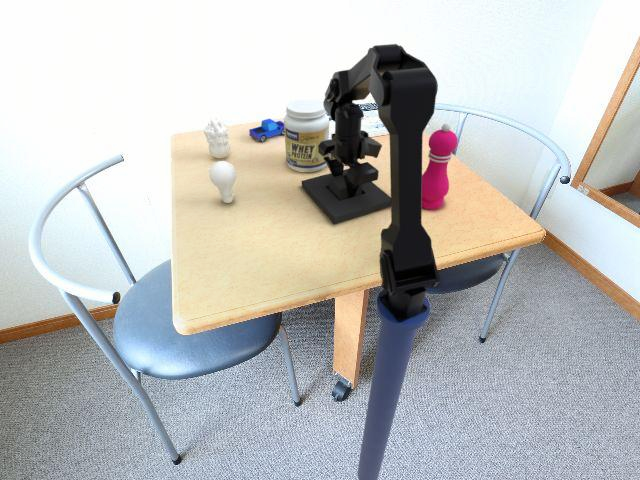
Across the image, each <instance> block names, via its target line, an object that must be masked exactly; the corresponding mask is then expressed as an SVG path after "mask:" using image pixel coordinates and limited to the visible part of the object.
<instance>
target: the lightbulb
mask: <svg viewBox="0 0 640 480" xmlns="http://www.w3.org/2000/svg"><path fill="white" fill-rule="evenodd" d="M208 173H209V174H208V175H209V179H210V181H211V183H212V184H213V185H214V186H215V187H216V188H217V190H218V191H219V192H218V193H219V195H220V196H221V199H222V202H223V203H225V204H230V203H232V202H233V201H234V184H235V182H236V179H237V171H236V168H235V166H233V165H232V164H231V163H230V162H228V161H226V160H218V161H216V162H215V163H213V164H212V165H211V167H210V169H209V172H208Z"/></svg>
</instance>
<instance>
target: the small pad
mask: <svg viewBox="0 0 640 480" xmlns="http://www.w3.org/2000/svg"><path fill="white" fill-rule="evenodd" d="M345 175H347V174H343V175H339V176H336V177H332V178H329V191H330V192H331V193H332V194H333V195H334V196H335V197H336V198H337V199H338V200H339V201H342V200H345V199H348V198H350V197H349V194H348V191H347V188H346V184H345V181H344V178H343V176H345ZM361 194H362V185H360V186H359V188H358V190H357V192H356V194H355V196H359V195H361ZM355 196H354V197H355Z"/></svg>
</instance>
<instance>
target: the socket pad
mask: <svg viewBox="0 0 640 480" xmlns="http://www.w3.org/2000/svg"><path fill="white" fill-rule="evenodd" d="M348 169H349V168H344V171H343V174H347V170H348ZM332 177H333V176H332V174H331V172H330V173H326V174H323V175H319V176H316V177H312V178H307V179H303V180H301V182H300V183H301V188H302V190H303V191H304V192H305V193H306V194H307V195H308V197H309V198H310V199H311V200H312V201H313V203H315V204H316V205H317V207H318V208H319V209H320V210H321V211H322V213H324V214H325V216H326V217H327V219H329V220H330V222H332V224H333V225H338V224H340V223H344V222H346V221H351V220H353V219H356V218H359V217H362V216H366V215H369V214H372V213H374V212H378V211H382V210H385V209H388V208H391V195H389V194H388V193H386V192H385V191H384V190H383V189H381V188H380V187H379V186H378V185H377V184H375V183H374V181H372V182H369V183H365V184H362V194H361V195H359V196H355V197H352V198H348V199H345V200H342V201H339V200H338V199H337V198H336V197H335V196H334V195H333V194H332V193H331V192H330V191H329V178H332Z"/></svg>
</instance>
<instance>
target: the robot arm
mask: <svg viewBox="0 0 640 480" xmlns="http://www.w3.org/2000/svg"><path fill="white" fill-rule="evenodd" d="M438 91H439V84H438V79H437V77H436V76H435V75H434V73H433V72H432V70H431V69H430V68H429V66H428V65H427V63H425V61H423V60H421V59H419V58H417V57H415V56H413V55H412V54H410V53H408V52H407V51H406V50H405V49H404V47H403V46H402V45H399V44H397V43H390V44H378V45H373V46H372V47H369V48H368V50H367V53H366V54H365V55H364V56H363V57H362V58H361V59H360V60H359V61H357V62H356V63H355V64H354V65H353V66H352V67H351V68H350V69H343V70H339V71H335V72H334V73H333V74H332V77H331V78H330V80H329V83H328V86H327V88H326V91H325V93H324V99H323V101H322V102H323V106H324V109H325V111H326V114H327V116H328V117H329V118H330V119H331V121H333V122H334V133H331V135H330V137H331V139H330V138H329V140H326V141H321V143H320V144H319V145H318V153H320V154H321V155H322V156H326V157H324V158H323V159H324V160H325V162H326V164H327V166H326V167H327V168H328V170H329V171H330V173H331V174H332V176H333V177H336V176H339V175H343V171H344V170H345V167H348V168H347V169H348V170H347V175H345V176H343V178H344V181H345V184H346V188H347V191H348V194H349V197H350V198H352V197H354V196H355V194H356V192H357V190H358V188H359V186H360V185H362V184H365V183H369V182H376V181H378V179H379V173H380V172H379V170H378V169H377V168H376V167H375V166H374V165H372V164H371V163H370V162H368V161H365V162H362V163H360V162H359V160H364V159H366V157H372V158H374V159H378V158H379V155H380V152H381V149H382V147H383V144H381V143H380V142H379V141H377V140H376V139H374V138H372V137H371V136H369V133H368V132H367V131H365V130H362V118H364V116H365V114H364V111H363V108H361V107H360V104H359V103H355V102H354V101H363V100H366V99H367V97H368V96H369V95H371V97H372V98H373V100H374V102H375V104H376V105H377V115H378V119H379V121H380V122H381V123H382V125H383V126H384V127H385V129H386V131H387V132H388V134H389V171H390V172H389V173H390V197H391V207H390V218H391V220H390V224H389V226H388V227H386V228H382V229H381V232H380V243H381V244H380V252H379V256H378V257H379V259H378V261H379V275H380V278H381V285H380V286H381V288H382V290H383V289H385V290H387V291H386V292H387V294H385V295H383V296H381V297H380V301H381V302H382V303H383V304H384V306H385V307H386V308H387V309H388V310H389V312H390V313H391V314H392V315H393V316H394V318H395V319H396V320H397V321H398V322H399V323H401V322H404V321H406V320H408V319H410V318H412V317H415V316H417V315H419V314H421V313H423V312H426V311H427V309H428V308H427V306H426V305H425V304H424V303H423V301H424V297H426V293H427V288H430V287H436V286H438V284H439V283H440V276H439V271H438V267H437V263H436V258H435V253H434V250H433V245H432V244H433V243H432V238H431V236H430V235H429V233H428V232H427V230H426V229H425V228H424V226H423V224H422V221H423V220H422V219H423V218H422V215H423V214H422V213H423V212H422V210H423V209H422V208H423V207H422V175H423V140H424V139H423V136H424V131H425V130H426V128H427V126H428V124H429V123H430V121H431V119H432V117H433V116H434V114H435V108H436V101H437V100H436V99H437V94H438ZM382 298H383V299H382ZM424 308H425V309H424ZM399 319H401V320H399Z"/></svg>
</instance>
